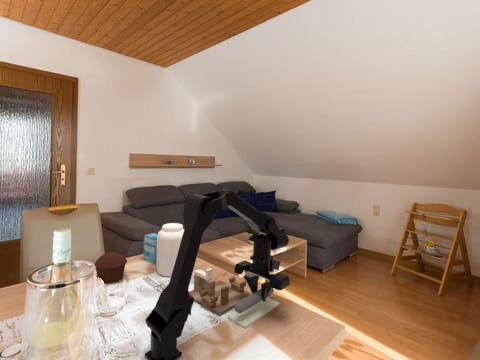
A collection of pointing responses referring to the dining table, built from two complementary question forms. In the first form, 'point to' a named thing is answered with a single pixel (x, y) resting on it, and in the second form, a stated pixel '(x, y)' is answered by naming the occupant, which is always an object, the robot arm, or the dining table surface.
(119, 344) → the dining table surface
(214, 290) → the cradle
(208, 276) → the beige wooden bar
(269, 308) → the mat
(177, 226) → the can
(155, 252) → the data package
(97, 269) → the muffin
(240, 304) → the grey rod
